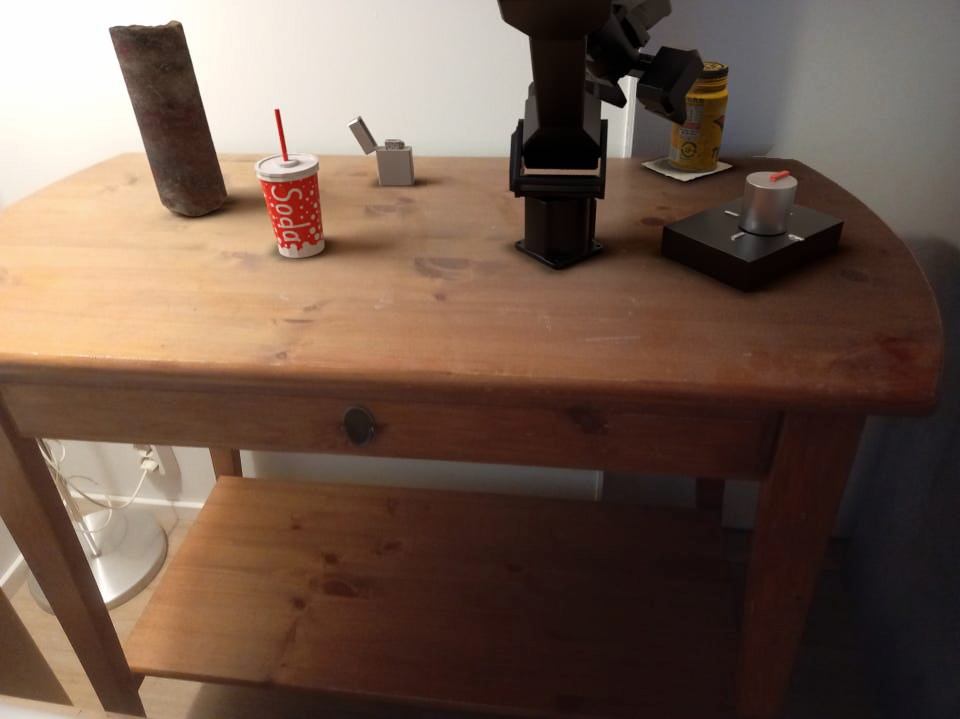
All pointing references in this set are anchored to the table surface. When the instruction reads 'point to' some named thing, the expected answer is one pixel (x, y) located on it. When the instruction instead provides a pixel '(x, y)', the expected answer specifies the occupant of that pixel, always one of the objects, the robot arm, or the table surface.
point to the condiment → (698, 128)
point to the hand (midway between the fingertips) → (652, 113)
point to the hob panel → (748, 244)
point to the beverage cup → (292, 199)
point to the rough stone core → (170, 116)
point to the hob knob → (767, 202)
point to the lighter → (386, 155)
